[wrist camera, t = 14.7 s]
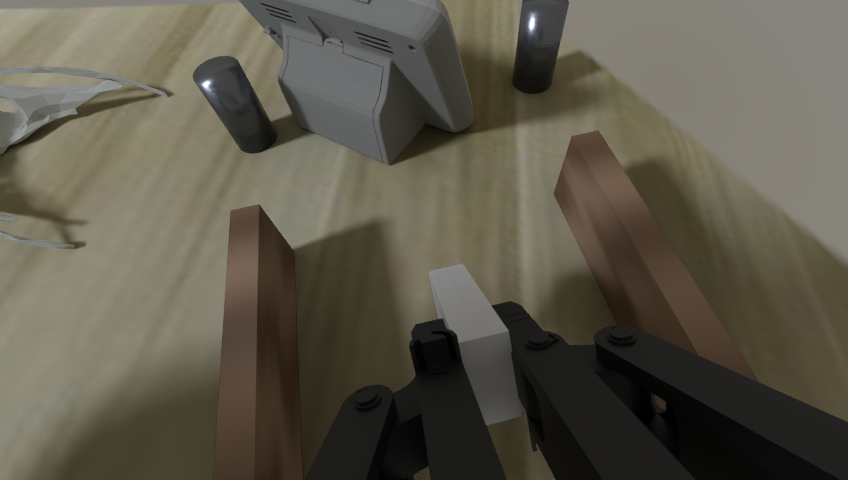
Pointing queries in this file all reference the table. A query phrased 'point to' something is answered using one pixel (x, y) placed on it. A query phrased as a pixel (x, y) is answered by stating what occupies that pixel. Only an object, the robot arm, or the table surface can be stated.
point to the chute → (277, 323)
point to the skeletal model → (47, 114)
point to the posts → (257, 133)
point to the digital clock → (368, 69)
